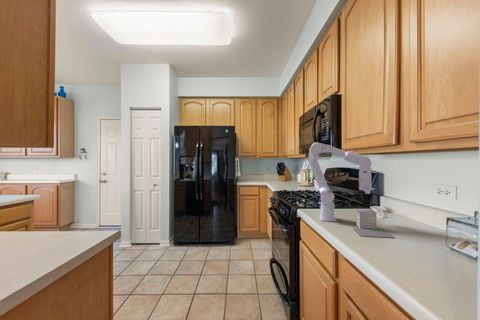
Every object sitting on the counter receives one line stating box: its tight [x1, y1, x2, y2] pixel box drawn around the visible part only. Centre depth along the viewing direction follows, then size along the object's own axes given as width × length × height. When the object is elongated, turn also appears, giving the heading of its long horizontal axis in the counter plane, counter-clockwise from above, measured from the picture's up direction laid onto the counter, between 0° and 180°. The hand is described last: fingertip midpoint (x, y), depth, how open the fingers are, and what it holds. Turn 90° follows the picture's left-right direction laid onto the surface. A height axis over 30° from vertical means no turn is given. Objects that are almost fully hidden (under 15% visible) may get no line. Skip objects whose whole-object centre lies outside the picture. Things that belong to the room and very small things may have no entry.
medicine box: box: [355, 209, 377, 229], centre depth 116 cm, size 8×4×9 cm, turn 84°
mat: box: [352, 227, 396, 239], centre depth 108 cm, size 11×14×1 cm
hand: (365, 205), depth 123 cm, fingers open, 7 cm apart
